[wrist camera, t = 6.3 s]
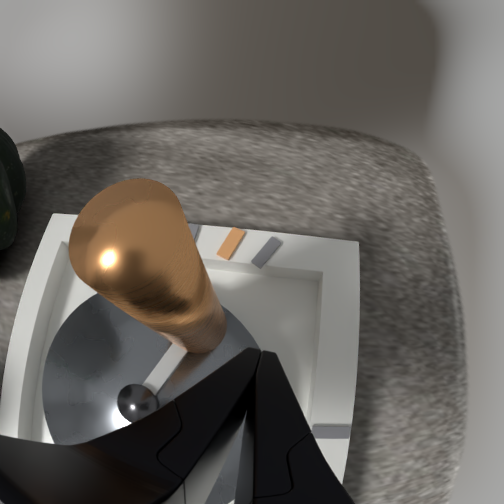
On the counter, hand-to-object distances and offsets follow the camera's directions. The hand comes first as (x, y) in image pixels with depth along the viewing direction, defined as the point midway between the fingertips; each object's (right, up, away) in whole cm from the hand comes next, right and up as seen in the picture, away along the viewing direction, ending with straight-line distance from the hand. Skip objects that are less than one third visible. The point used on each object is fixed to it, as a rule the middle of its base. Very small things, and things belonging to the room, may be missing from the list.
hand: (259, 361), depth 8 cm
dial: (-6, -5, +5) cm, 9 cm away
